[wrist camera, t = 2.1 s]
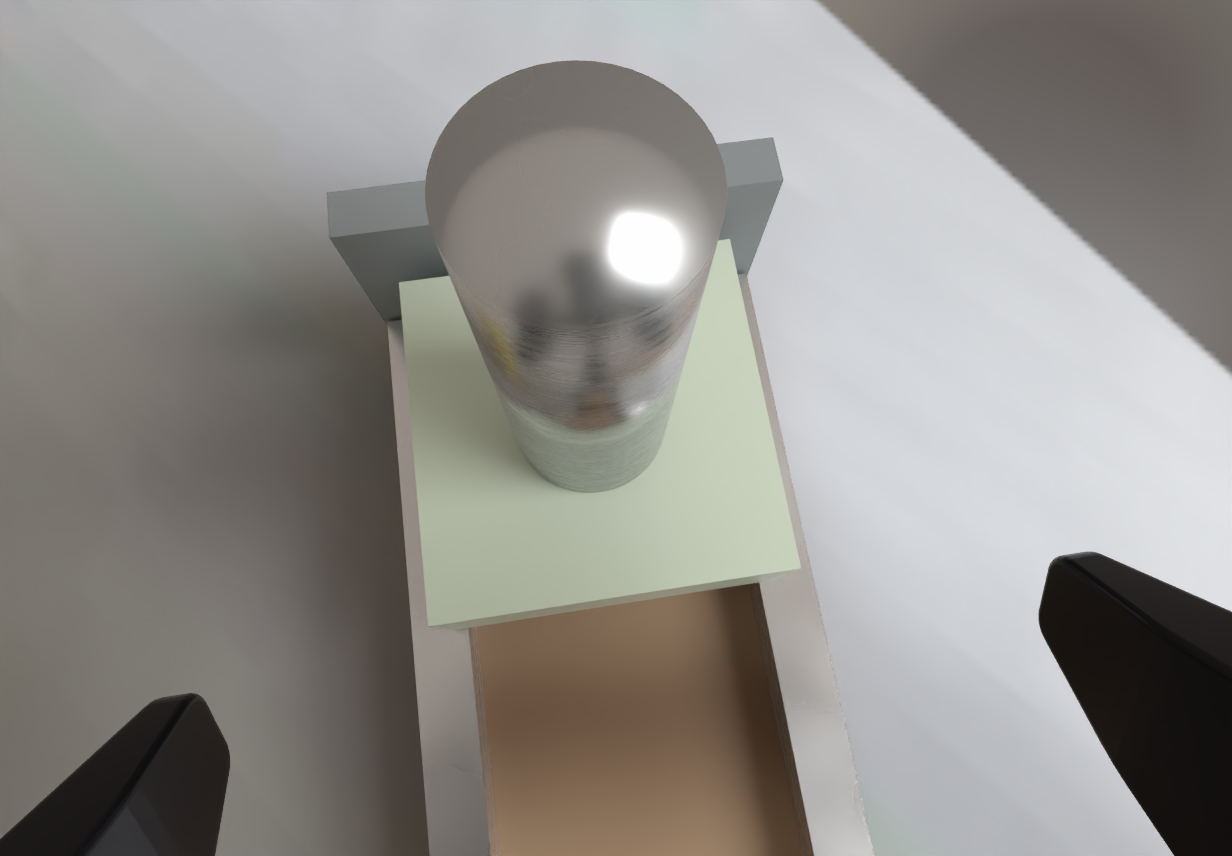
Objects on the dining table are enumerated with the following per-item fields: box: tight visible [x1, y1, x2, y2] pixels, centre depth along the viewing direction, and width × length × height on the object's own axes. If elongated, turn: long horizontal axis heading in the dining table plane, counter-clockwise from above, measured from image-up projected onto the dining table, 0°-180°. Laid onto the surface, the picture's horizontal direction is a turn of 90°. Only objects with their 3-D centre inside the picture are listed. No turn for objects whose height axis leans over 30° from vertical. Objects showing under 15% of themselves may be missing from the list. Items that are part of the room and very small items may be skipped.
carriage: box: [399, 61, 801, 630], centre depth 13 cm, size 7×7×10 cm
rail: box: [327, 137, 874, 856], centre depth 15 cm, size 23×9×8 cm, turn 9°
